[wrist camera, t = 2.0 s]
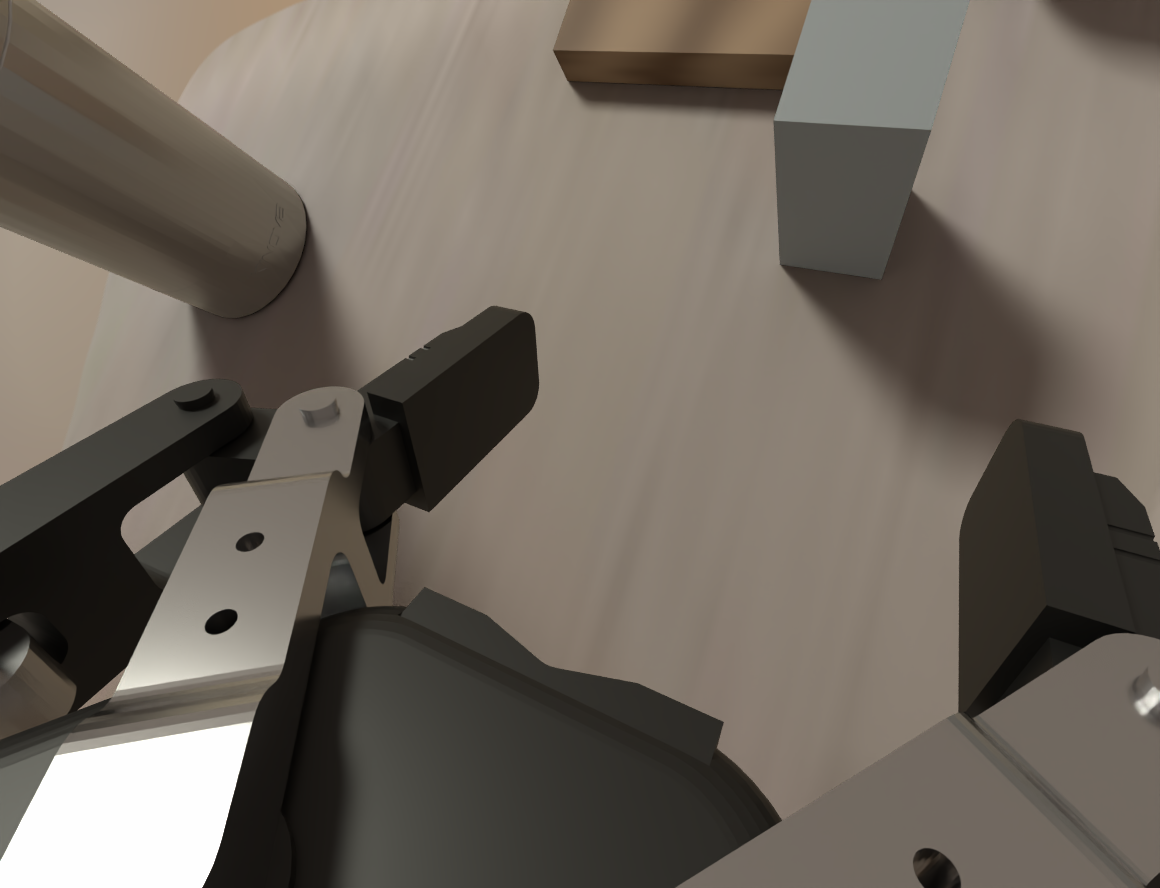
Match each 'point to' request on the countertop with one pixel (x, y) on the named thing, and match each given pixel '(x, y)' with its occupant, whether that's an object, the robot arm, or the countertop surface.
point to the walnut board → (681, 42)
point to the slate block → (858, 127)
